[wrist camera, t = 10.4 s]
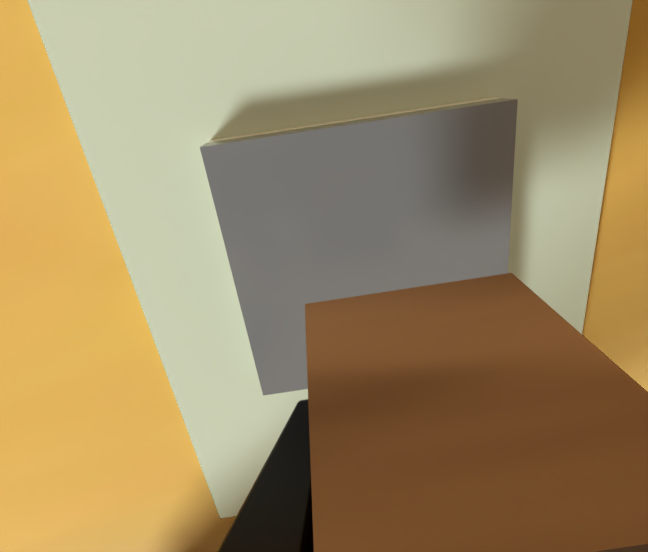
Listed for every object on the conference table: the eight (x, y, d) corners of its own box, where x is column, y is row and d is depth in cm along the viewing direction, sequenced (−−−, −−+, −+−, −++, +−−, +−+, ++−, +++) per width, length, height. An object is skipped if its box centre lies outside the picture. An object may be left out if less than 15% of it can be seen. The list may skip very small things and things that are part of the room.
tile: (265, 368, 17) (485, 336, 17) (263, 395, 16) (502, 360, 15) (210, 140, 13) (492, 97, 13) (199, 147, 12) (517, 99, 12)
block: (502, 428, 10) (685, 733, 5) (331, 453, 10) (362, 780, 5) (511, 272, 8) (794, 521, 3) (304, 303, 8) (315, 592, 3)
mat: (557, 461, 21) (561, 468, 21) (221, 511, 21) (220, 518, 21) (637, -101, 12) (649, -107, 11) (32, -8, 12) (23, -11, 11)
